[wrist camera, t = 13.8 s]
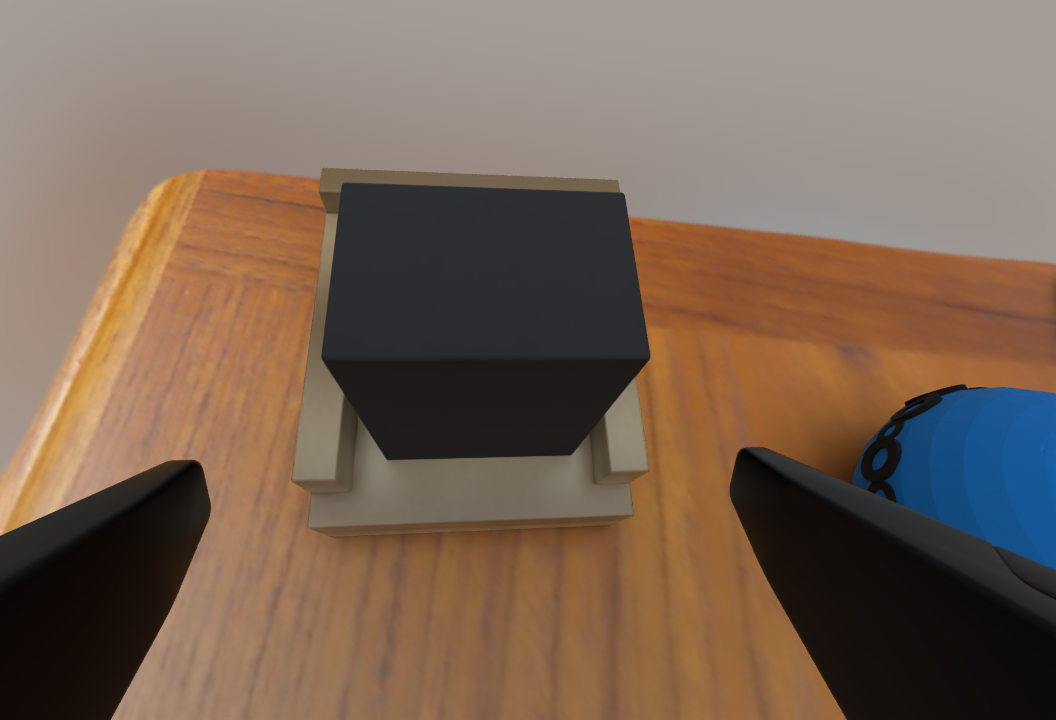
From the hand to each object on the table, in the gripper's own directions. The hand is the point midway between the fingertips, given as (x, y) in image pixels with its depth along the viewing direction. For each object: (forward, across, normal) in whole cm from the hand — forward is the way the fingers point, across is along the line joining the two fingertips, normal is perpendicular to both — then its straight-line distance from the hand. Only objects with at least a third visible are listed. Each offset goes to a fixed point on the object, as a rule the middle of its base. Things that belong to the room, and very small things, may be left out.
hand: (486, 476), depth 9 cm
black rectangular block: (+8, 0, +3) cm, 9 cm away
